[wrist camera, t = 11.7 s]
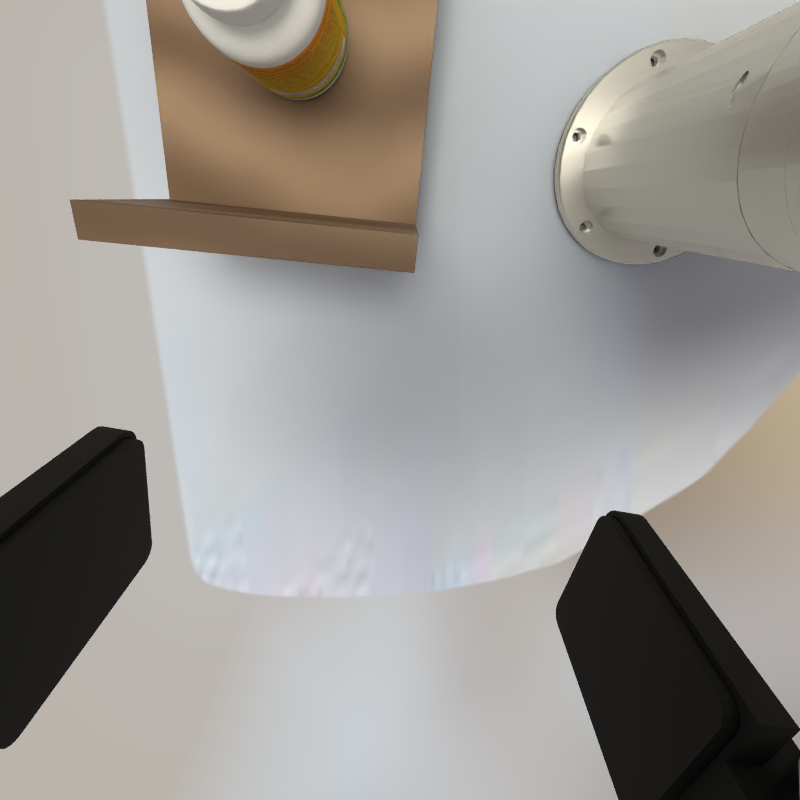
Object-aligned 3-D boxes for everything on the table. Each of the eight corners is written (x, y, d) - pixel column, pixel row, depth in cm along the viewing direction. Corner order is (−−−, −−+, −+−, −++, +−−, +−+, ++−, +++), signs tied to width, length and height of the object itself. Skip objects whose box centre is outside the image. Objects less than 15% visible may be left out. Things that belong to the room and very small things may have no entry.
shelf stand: (189, -90, 24) (-59, -416, 11) (441, -60, 24) (478, -344, 12) (214, 222, 31) (77, 239, 18) (411, 242, 31) (414, 272, 18)
